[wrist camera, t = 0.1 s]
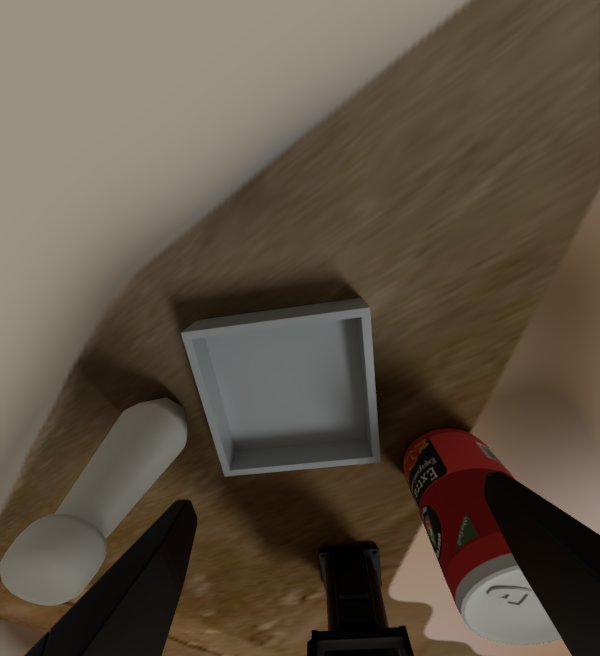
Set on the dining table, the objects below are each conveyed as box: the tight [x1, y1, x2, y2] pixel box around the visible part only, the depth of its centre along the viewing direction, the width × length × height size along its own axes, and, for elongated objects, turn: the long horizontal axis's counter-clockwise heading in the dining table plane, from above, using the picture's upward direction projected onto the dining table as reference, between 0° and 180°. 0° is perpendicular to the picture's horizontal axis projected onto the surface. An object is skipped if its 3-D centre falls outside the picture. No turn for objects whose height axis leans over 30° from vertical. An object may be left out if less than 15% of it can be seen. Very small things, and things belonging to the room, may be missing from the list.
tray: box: [181, 298, 381, 477], centre depth 22 cm, size 13×13×3 cm
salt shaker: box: [0, 397, 187, 605], centre depth 19 cm, size 6×6×13 cm
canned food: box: [403, 428, 561, 645], centre depth 21 cm, size 8×8×11 cm
